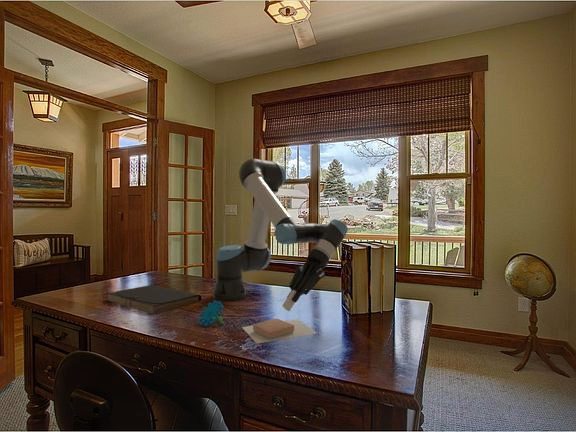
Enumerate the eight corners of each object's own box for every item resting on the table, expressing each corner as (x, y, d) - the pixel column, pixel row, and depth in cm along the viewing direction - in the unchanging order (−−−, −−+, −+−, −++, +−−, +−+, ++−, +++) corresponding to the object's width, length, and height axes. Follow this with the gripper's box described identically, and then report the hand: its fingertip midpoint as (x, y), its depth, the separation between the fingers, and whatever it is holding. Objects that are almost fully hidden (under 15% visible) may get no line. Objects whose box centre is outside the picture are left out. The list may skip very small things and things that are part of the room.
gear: (192, 317, 116) (212, 295, 120) (202, 326, 119) (221, 304, 123) (207, 330, 108) (228, 306, 112) (217, 339, 111) (237, 315, 115)
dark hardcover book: (106, 292, 142) (155, 283, 163) (106, 302, 142) (155, 291, 163) (152, 305, 124) (201, 293, 145) (152, 316, 124) (201, 302, 145)
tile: (277, 318, 113) (253, 324, 107) (294, 325, 106) (269, 332, 100) (277, 325, 113) (252, 331, 107) (294, 332, 106) (269, 340, 100)
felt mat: (241, 328, 111) (241, 327, 111) (297, 320, 120) (297, 319, 120) (256, 344, 97) (256, 343, 97) (317, 334, 106) (317, 333, 106)
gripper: (339, 263, 117) (304, 319, 106) (313, 259, 127) (279, 310, 116) (329, 249, 113) (292, 306, 102) (303, 246, 123) (267, 297, 112)
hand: (285, 308), depth 109 cm, fingers closed
